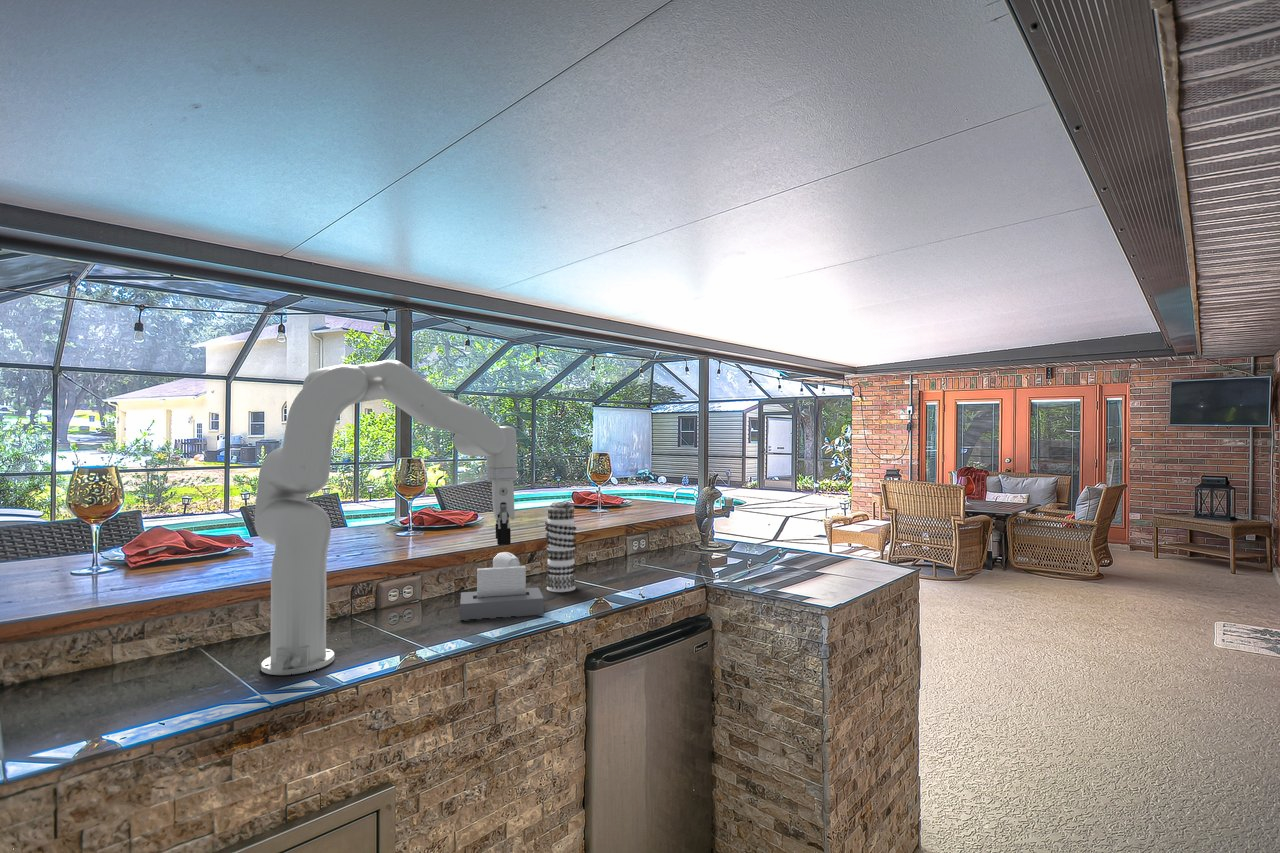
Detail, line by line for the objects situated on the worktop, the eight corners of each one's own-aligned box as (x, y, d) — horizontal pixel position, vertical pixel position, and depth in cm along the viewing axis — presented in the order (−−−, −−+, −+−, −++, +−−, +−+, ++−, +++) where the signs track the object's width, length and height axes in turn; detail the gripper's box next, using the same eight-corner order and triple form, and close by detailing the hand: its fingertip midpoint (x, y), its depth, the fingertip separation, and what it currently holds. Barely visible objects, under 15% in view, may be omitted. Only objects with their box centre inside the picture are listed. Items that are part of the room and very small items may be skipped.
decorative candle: (539, 588, 185) (539, 502, 185) (566, 583, 190) (566, 500, 191) (554, 594, 177) (554, 505, 178) (582, 589, 183) (582, 503, 184)
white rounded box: (490, 595, 176) (490, 551, 177) (504, 592, 179) (504, 549, 179) (508, 602, 169) (508, 556, 169) (522, 599, 171) (522, 554, 172)
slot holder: (543, 614, 157) (543, 598, 157) (460, 620, 151) (460, 604, 152) (538, 602, 168) (538, 587, 168) (460, 607, 163) (460, 592, 163)
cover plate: (525, 610, 160) (525, 567, 161) (477, 614, 157) (477, 570, 158) (525, 608, 162) (525, 565, 163) (477, 612, 159) (477, 568, 159)
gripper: (519, 476, 153) (520, 546, 153) (514, 472, 170) (515, 535, 170) (487, 477, 151) (488, 548, 151) (485, 472, 168) (486, 537, 168)
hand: (503, 541), depth 161 cm, fingers open, 9 cm apart
